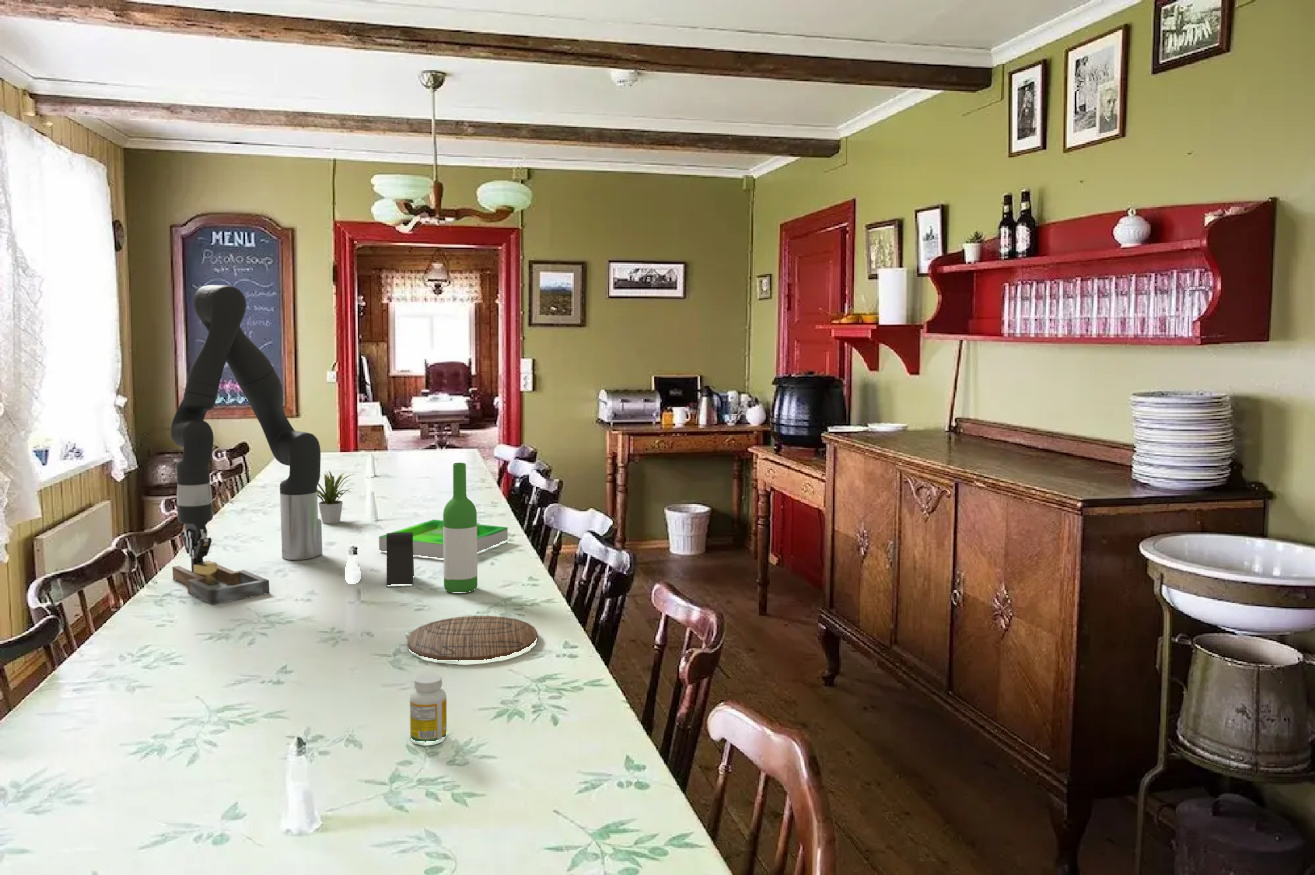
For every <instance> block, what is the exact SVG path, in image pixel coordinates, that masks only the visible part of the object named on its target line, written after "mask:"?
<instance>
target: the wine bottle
mask: <svg viewBox="0 0 1315 875" xmlns="http://www.w3.org/2000/svg"><path fill="white" fill-rule="evenodd" d="M452 477H453V478H452V490H453V491H452V495H453V496H452V498H451V499H450V500H449V501H447V502H446V504H445V506H444V508H443V512H442V514H443V515H442V517H443V518H442V520H443V555H444V561H443V588H444V590H445V591H446V590H447V591H449V592H469V591H472V590H474V589H475V590H477V588H478V555H477V524H478V518H477V517H478V515H477V514H478V512H477V509H476V506H475V504H474V503H473V501H471V499H469V498H468V497H467V464H466V463H465V462H454V463H453V464H452ZM475 590H474V591H475ZM447 591H446V592H447ZM449 592H448V593H449ZM472 592H473V591H472Z"/></svg>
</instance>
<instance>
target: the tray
mask: <svg viewBox="0 0 1315 875" xmlns="http://www.w3.org/2000/svg"><path fill="white" fill-rule="evenodd" d="M409 532H413V555H421V556H428V557H437V558H444V555H443V519H442V520H441V519H430V520H427V521H424V522H421V523H419V524H415V525H412V526H409V527H405V528H402V529H398V530H395V531H392V532H391V533H409ZM508 532H509V531H508V527H507V526H497V525H490V524H480V523H479V524H478V523H477V552H479V551H481V550H483V549H487V548H489V547H491V546H493V545H496V544H499V543H500V542H502V541H505V540H507V539H508V534H509V533H508ZM508 540H509V539H508ZM378 543H379V544H378V547H379V548H378V551H379V550H381V551H387V533H386V534H383V535H381V536H380V535H379V536H378Z"/></svg>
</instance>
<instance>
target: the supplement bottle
mask: <svg viewBox="0 0 1315 875" xmlns="http://www.w3.org/2000/svg"><path fill="white" fill-rule="evenodd" d="M413 686H414V689H415V690H414V691H412V692H411V694H410V697H409V709H410V710H409V716H410V723H409V724H410V726H409V728H410V730H409V731H410V739H411V738H412V739H413V740H415V741H425V742H426V741H436V740H439V739H441V738H442V737H445V736H446V732H447V731H448V730H447V726H448V725H447V720H448V719H447V714H448V713H447V706H448V704H447V692H446V691H445V690H444V688H442V686H443V677H442V675H440V674H437V673H423V674H419V675H418V676H417V675H416V677H414V685H413ZM447 733H448V732H447ZM446 737H447V736H446Z"/></svg>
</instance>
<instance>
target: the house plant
mask: <svg viewBox="0 0 1315 875" xmlns="http://www.w3.org/2000/svg"><path fill="white" fill-rule="evenodd" d="M343 475H345V472H343V473H341V474H340V475H338V477H337V479H336V480H335V475H332V472H331V471H330V470H328V472H327V471H325V473H324V488H325V489H324V488H323V487H322V486H321V484H320V483H318V485H317V487H319V488H320V489H321V491H320V490H319V489H318V488H317V498H318V497H319V498H320V499H321V501H319V502H318V509H319V511H320V517H321V524H325V525H332V524H333V525H334V524H339V523H341V519H342V509H343V505H344V504H343V503H344V502H343V501H341V500H340V499H341V497H342V496H343V495H344V494H345V493H346V492H350V493H351V491H350V489H353V487H350V488H348V489H342V487H343V486H344V485H345V483H347V482H348V481H350V479H347V478H348V477H350V476H355V475H356V474H355V473H353V474H349V475H347V476H344V477H343ZM346 479H347V480H346ZM344 480H346V481H344ZM343 481H344V482H343ZM342 482H343V484H342ZM341 484H342V485H341ZM338 488H339V489H338ZM339 495H340V496H339Z"/></svg>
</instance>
